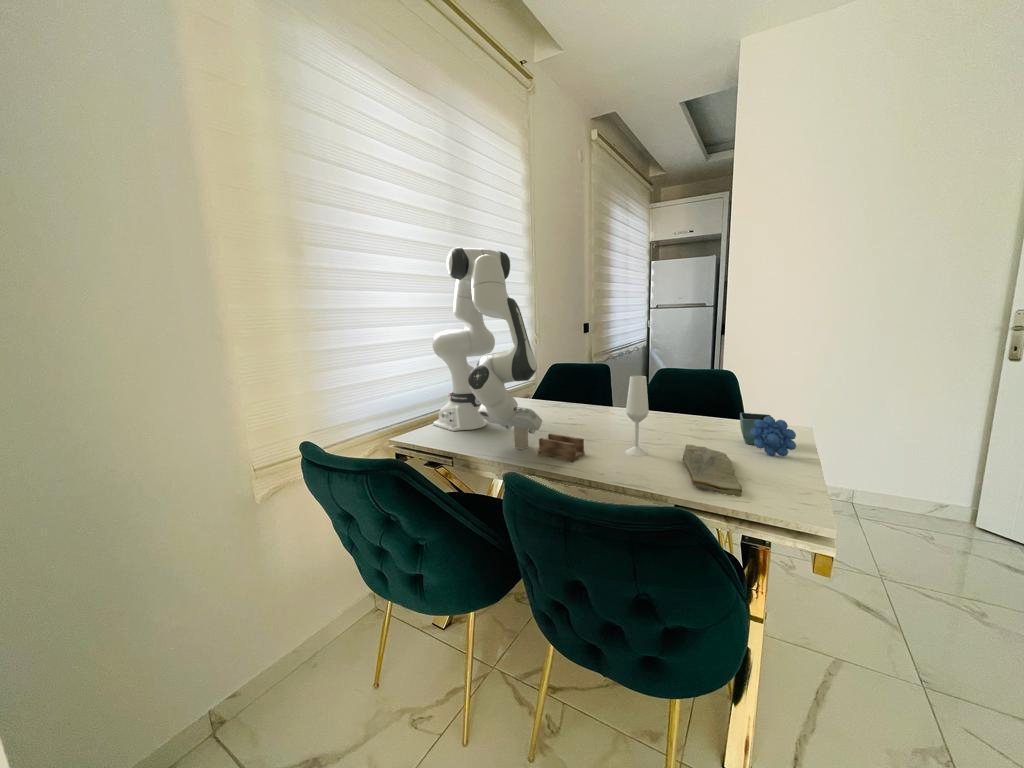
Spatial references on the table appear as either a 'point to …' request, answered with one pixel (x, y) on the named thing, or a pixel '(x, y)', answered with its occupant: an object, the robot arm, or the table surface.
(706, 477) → the stone slab
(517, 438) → the strip
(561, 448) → the wooden napkin holder
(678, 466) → the table surface
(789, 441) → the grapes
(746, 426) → the flower pot
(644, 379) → the champagne flute
